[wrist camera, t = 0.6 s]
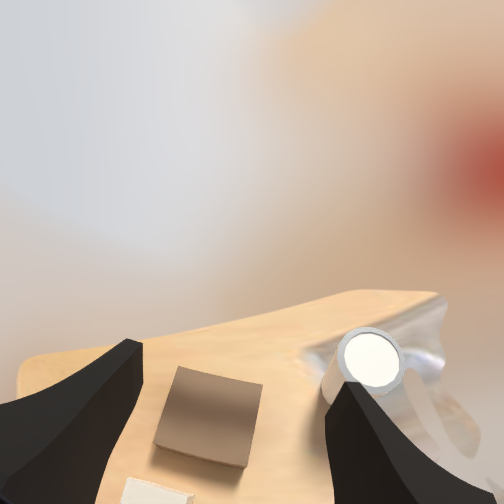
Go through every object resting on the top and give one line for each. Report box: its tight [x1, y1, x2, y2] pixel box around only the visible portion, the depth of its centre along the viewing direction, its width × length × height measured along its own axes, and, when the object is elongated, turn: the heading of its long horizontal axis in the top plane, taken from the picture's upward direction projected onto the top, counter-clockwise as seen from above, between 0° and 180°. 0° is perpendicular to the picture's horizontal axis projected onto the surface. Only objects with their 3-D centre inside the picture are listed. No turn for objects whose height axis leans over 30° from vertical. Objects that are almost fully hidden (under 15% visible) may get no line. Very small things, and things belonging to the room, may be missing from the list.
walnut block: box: [153, 366, 263, 468], centre depth 24 cm, size 8×8×3 cm
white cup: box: [321, 327, 405, 405], centre depth 26 cm, size 7×7×7 cm
